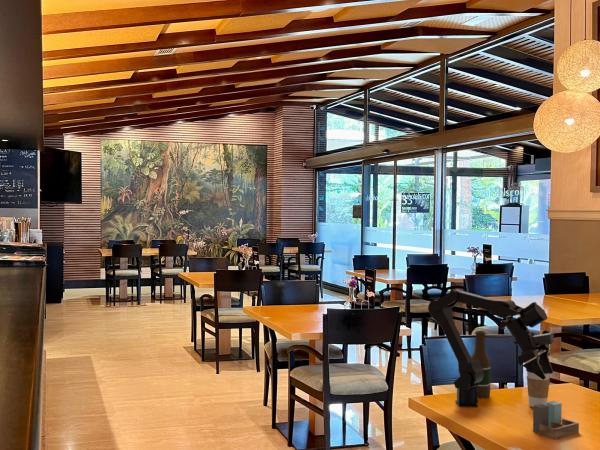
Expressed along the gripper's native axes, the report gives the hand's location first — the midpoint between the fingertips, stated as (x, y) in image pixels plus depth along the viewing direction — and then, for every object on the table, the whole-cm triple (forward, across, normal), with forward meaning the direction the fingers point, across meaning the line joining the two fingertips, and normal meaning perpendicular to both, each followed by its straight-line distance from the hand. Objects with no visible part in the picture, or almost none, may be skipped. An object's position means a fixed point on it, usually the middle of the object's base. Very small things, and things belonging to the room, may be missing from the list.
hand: (548, 376), depth 218 cm
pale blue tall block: (+14, -8, +5) cm, 17 cm away
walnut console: (+15, -12, +3) cm, 20 cm away
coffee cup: (+8, +15, +14) cm, 22 cm away
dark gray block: (+12, -14, +7) cm, 20 cm away
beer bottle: (-4, +16, +32) cm, 36 cm away
